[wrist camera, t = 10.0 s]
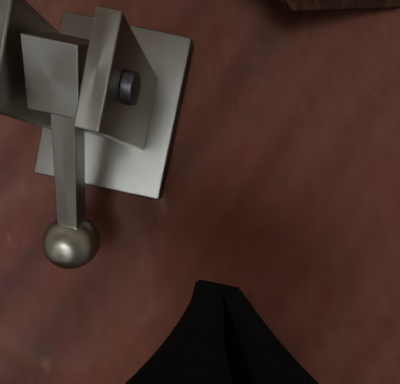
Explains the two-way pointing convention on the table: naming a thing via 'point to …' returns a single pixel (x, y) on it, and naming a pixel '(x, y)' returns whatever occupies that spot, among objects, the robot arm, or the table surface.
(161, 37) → the bracket
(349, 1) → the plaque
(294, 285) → the table surface
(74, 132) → the tap lever
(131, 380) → the robot arm
